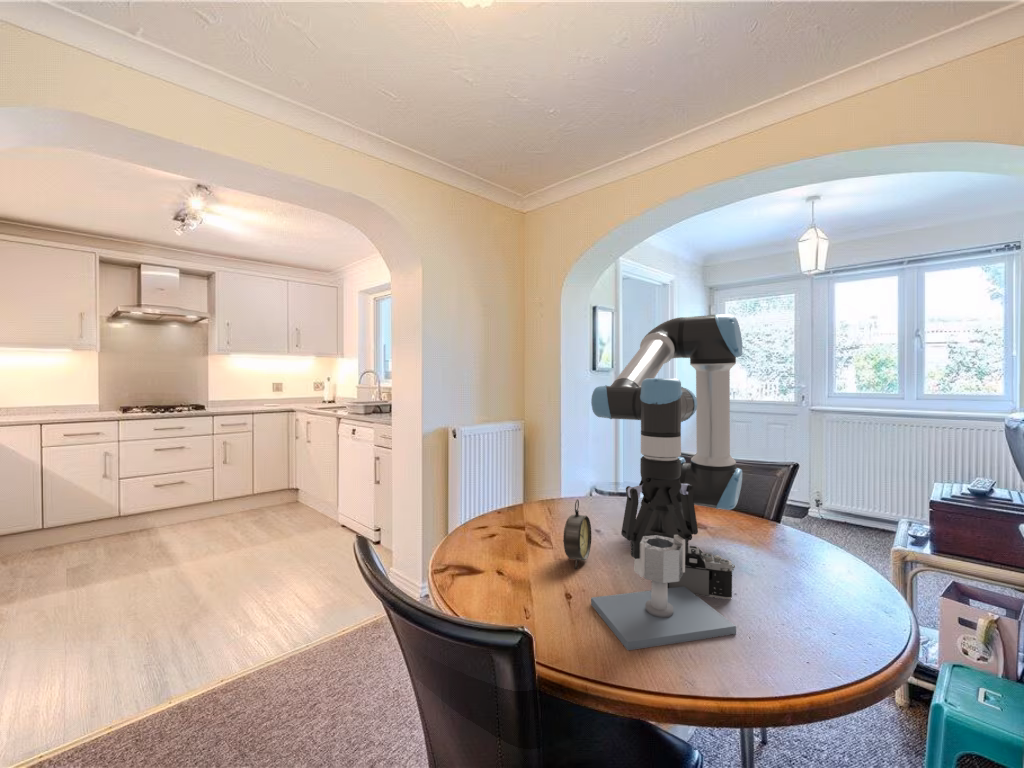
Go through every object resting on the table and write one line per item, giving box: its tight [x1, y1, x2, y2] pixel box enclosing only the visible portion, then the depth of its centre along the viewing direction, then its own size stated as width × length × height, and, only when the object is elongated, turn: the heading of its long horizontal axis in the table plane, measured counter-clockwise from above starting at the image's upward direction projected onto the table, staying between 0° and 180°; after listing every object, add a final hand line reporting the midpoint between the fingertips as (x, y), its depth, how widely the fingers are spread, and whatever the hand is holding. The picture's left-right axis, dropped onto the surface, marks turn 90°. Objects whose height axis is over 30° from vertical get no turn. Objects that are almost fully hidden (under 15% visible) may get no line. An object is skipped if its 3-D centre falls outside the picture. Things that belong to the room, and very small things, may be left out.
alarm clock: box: [562, 498, 592, 570], centre depth 115 cm, size 11×5×16 cm, turn 155°
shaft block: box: [590, 580, 737, 651], centre depth 88 cm, size 22×16×8 cm
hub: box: [641, 535, 683, 583], centre depth 88 cm, size 8×8×6 cm
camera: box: [668, 545, 736, 600], centre depth 101 cm, size 16×9×10 cm, turn 69°
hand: (659, 571), depth 88 cm, fingers closed on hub, 8 cm apart
